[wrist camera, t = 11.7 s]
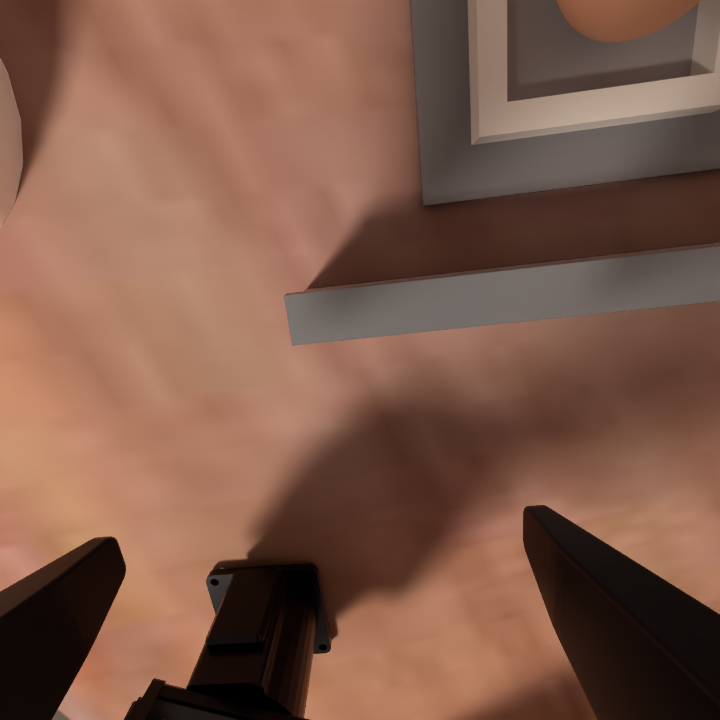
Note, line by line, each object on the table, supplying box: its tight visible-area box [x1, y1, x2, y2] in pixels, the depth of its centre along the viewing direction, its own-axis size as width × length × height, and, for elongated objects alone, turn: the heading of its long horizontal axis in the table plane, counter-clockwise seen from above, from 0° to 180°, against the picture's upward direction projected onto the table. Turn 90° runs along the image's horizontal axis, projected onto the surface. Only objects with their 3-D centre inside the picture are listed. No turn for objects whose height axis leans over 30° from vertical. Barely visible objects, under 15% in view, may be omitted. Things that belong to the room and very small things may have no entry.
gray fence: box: [284, 242, 720, 346], centre depth 15 cm, size 2×24×4 cm, turn 97°
